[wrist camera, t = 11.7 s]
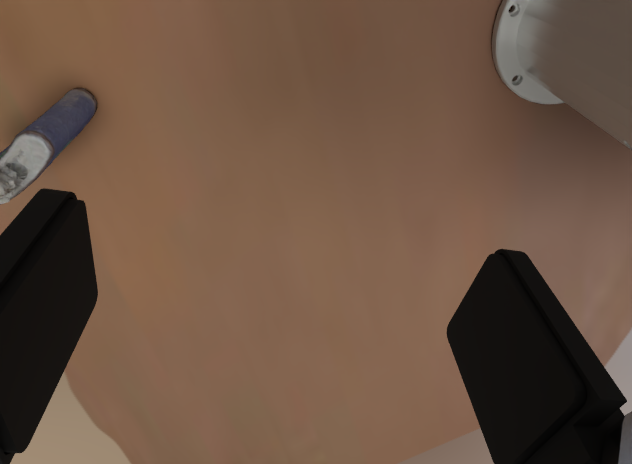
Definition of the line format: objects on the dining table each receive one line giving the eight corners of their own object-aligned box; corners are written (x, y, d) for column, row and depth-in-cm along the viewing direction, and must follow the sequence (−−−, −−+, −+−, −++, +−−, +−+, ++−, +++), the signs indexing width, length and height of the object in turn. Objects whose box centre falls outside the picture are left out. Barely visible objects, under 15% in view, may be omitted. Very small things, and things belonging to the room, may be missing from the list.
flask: (79, 80, 34) (12, 138, 26) (109, 109, 36) (55, 172, 28) (10, 141, 37) (-70, 212, 29) (41, 165, 39) (-27, 239, 30)
